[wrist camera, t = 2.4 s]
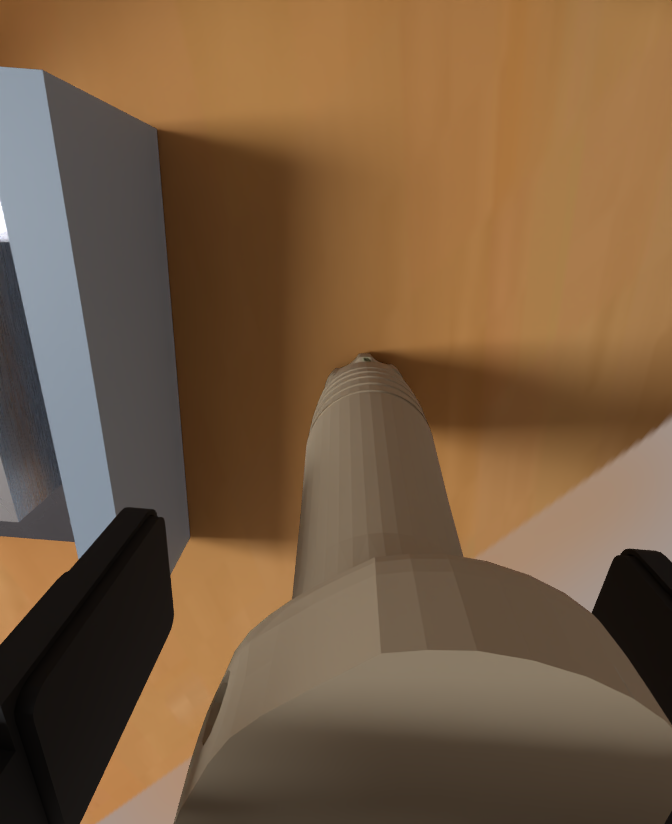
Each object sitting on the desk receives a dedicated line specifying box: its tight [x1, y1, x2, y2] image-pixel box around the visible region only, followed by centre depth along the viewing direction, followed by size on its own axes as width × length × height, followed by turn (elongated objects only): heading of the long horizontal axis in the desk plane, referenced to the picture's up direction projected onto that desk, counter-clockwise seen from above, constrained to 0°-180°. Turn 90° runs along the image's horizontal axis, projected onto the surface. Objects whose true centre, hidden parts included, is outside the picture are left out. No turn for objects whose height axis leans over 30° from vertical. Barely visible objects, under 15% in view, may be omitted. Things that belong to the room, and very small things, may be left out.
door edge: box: [0, 67, 190, 575], centre depth 16 cm, size 18×2×6 cm, turn 176°
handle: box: [174, 353, 672, 824], centre depth 12 cm, size 5×6×15 cm
